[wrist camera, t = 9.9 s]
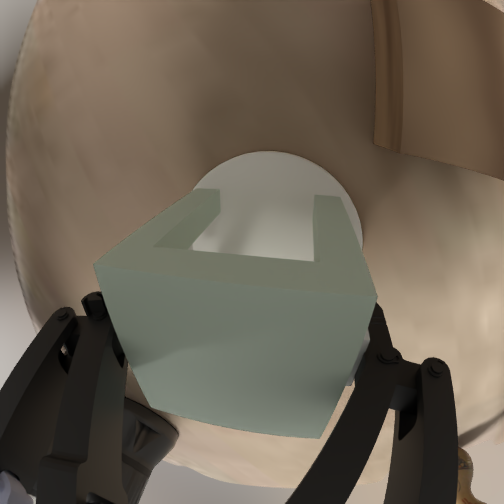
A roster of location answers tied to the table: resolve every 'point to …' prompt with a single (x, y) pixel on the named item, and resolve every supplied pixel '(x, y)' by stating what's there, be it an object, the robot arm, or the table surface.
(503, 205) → the table surface
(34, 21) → the table surface
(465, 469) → the ceramic vessel
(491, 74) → the walnut box
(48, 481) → the robot arm
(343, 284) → the stool
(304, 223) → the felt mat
